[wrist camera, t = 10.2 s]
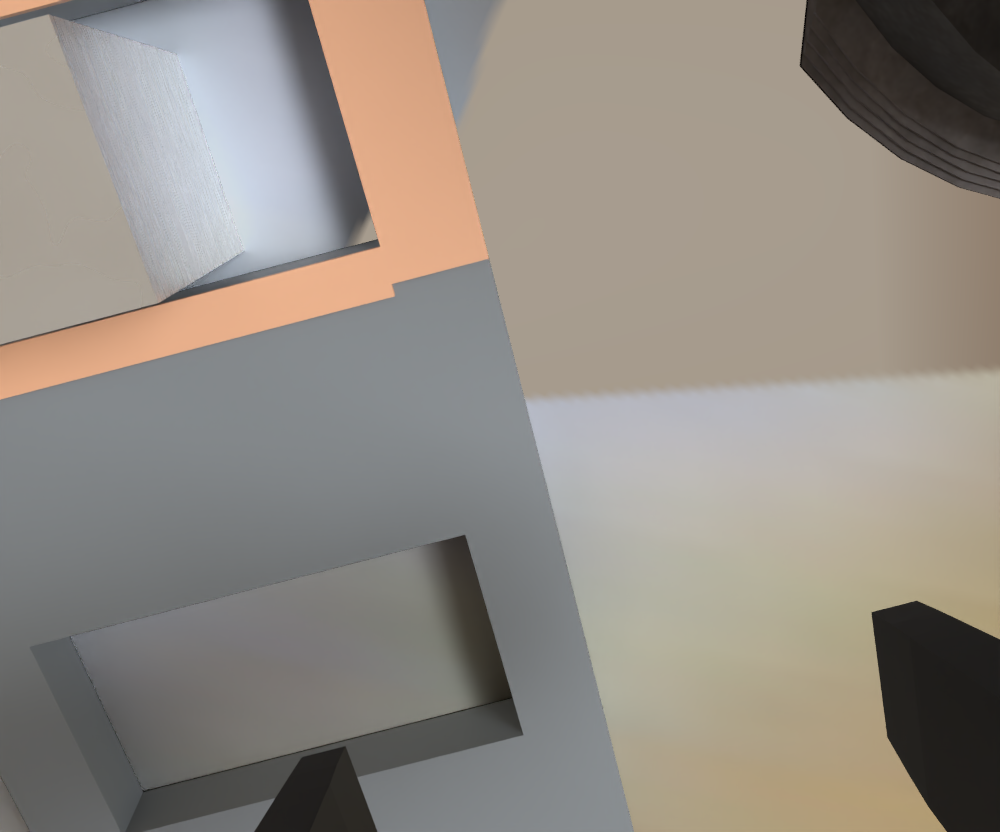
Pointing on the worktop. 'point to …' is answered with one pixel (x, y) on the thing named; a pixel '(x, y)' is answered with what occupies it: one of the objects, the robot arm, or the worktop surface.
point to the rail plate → (298, 485)
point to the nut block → (99, 178)
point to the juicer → (915, 79)
